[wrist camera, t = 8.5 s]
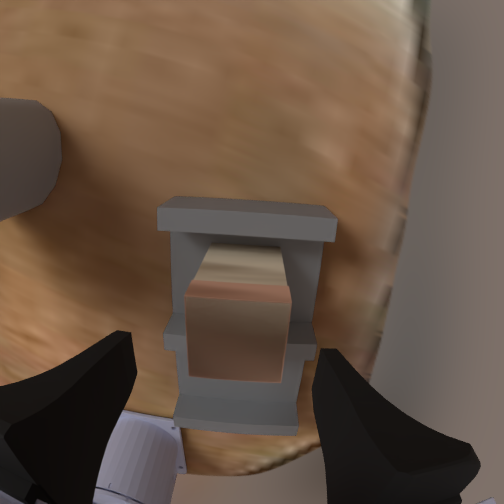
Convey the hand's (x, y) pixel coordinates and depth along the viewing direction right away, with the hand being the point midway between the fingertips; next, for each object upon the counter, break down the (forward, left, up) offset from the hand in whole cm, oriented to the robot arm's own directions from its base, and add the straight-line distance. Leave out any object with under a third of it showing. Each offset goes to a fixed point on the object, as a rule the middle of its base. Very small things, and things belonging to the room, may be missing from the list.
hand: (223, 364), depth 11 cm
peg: (0, 0, -8) cm, 8 cm away
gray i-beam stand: (-3, 0, -9) cm, 10 cm away
